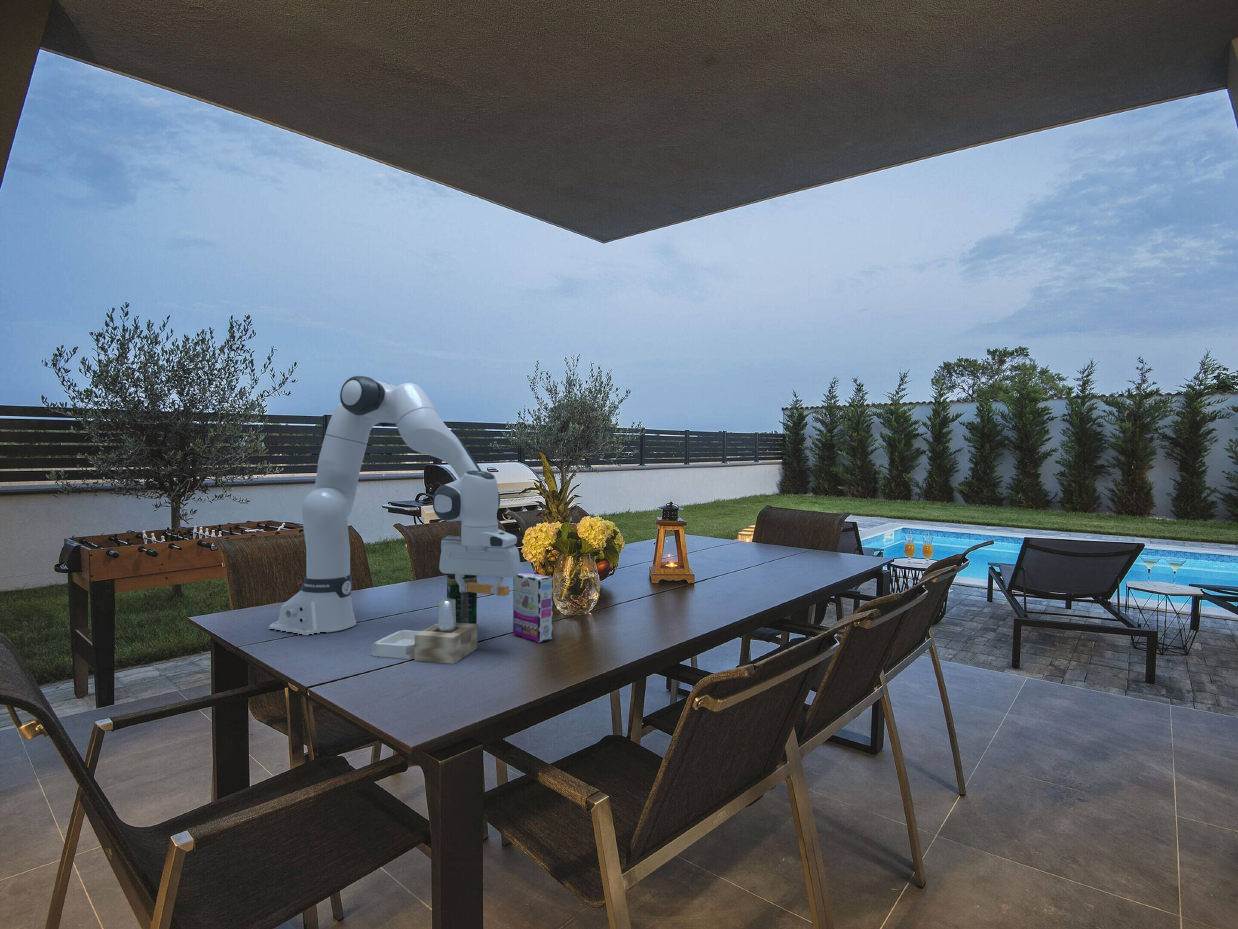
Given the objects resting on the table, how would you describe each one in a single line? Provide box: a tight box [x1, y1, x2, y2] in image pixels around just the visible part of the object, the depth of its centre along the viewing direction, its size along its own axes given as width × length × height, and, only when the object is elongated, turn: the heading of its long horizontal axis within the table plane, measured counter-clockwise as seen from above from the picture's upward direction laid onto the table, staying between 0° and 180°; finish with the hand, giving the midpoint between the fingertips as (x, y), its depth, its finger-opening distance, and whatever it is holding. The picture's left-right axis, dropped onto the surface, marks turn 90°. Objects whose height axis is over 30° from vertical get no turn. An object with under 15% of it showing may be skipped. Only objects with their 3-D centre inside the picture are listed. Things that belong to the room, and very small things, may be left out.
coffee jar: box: [446, 573, 478, 625], centre depth 167 cm, size 10×8×19 cm
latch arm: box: [465, 582, 510, 597], centre depth 153 cm, size 2×14×2 cm, turn 65°
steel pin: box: [437, 597, 456, 633], centre depth 147 cm, size 4×4×13 cm
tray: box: [371, 629, 422, 660], centre depth 150 cm, size 10×12×3 cm
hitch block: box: [414, 592, 478, 665], centre depth 149 cm, size 10×17×13 cm, turn 167°
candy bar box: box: [512, 572, 554, 644], centre depth 161 cm, size 11×5×16 cm, turn 47°
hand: (479, 593), depth 150 cm, fingers open, 7 cm apart
